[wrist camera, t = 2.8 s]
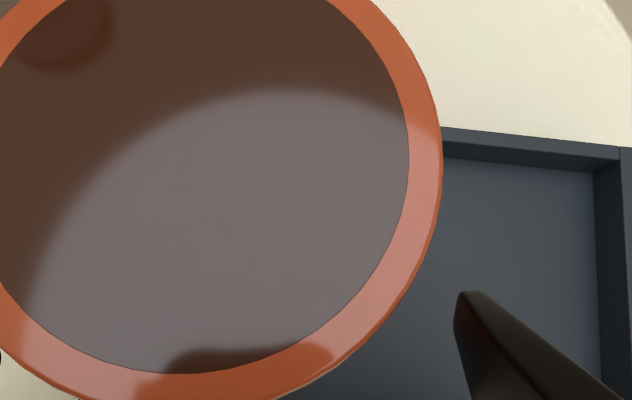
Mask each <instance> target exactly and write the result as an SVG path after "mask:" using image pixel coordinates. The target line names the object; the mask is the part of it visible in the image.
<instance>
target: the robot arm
mask: <svg viewBox="0 0 632 400" xmlns="http://www.w3.org/2000/svg"><path fill="white" fill-rule="evenodd" d="M453 332H454V336H455V340H456V343H457V347H458V351H459V355H460V358H461V362H462V366H463V369H464V373H465V377H466V381H467V384H468V388H469V392H470V395H471V399H472V400H624V399H623V398H621V397H620V396H619V395H617V394H616V393H615V392H613V391H612V390H611V389H609V388H608V387H607V386H605V385H604V384H603V383H602V382H600V381H599V380H598V379H596V378H595V377H594V376H592V375H591V374H590V373H588V372H587V371H586V370H584V369H583V368H582V367H581V366H579V365H578V364H577V363H575V362H574V361H573V360H571V359H570V358H569V357H567V356H566V355H565V354H564V353H562V352H561V351H560V350H558V349H557V348H556V347H554V346H553V345H552V344H550V343H549V342H548V341H546V340H545V339H544V338H543V337H541V336H540V335H539V334H537V333H536V332H535V331H533V330H532V329H531V328H529V327H528V326H527V325H526V324H524V323H523V322H522V321H520V320H519V319H518V318H516V317H515V316H514V315H512V314H511V313H510V312H508V311H507V310H506V309H505V308H503V307H502V306H501V305H499V304H498V303H497V302H495V301H494V300H493V299H491V298H490V297H489V296H487V295H486V294H485V293H483V292H482V291H478V290H475V291H462V292H460V293H459V295H458V298H457V303H456V308H455V313H454V318H453ZM0 363H1V352H0Z"/></svg>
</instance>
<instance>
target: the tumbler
mask: <svg viewBox="0 0 632 400" xmlns="http://www.w3.org/2000/svg"><path fill="white" fill-rule="evenodd" d="M443 170H444V163H443V148H442V135H441V131H440V126H439V121H438V116H437V111H436V107H435V104H434V101H433V98H432V95H431V92H430V89H429V86H428V84H427V81H426V78H425V76H424V74H423V72H422V70H421V68H420V66H419V64H418V62H417V60H416V58H415V56H414V54H413V52H412V50H411V49H410V48H409V46H408V45H407V43H406V42H405V40H404V39H403V37H402V36H401V34H400V33H399V31H398V30H397V28H396V27H395V26H394V25H393V24H392V23H391V22H390V20H389V19H388V18H387V17H386V16H385V15H384V14H383V12H382V11H381V10H380V9H379V8H378V7H377V6H376V5H375V4H374V3H373V2H372V1H370V0H20V1H19V2H18V3H17V4H16V5H14V6H13V7H12V8H11V9H10V10H9V11H8V12H7V13H6V14H5V15H4V16H2V17H1V18H0V348H1V349H2V350H3V351H4V352H6V353H7V354H8V355H9V356H10V357H11V358H13V359H14V360H15V361H16V362H17V363H18V364H19V365H21V366H22V367H23V368H24V369H26V370H27V371H29V372H30V373H32V374H33V375H35V376H37V377H38V378H40V379H41V380H43V381H45V382H46V383H48V384H49V385H51V386H52V387H54V388H56V389H58V390H60V391H63V392H65V393H67V394H69V395H72V396H74V397H76V398H79V399H81V400H275V399H278V398H280V397H282V396H284V395H287V394H289V393H291V392H293V391H295V390H298V389H300V388H302V387H304V386H307V385H308V384H310V383H311V382H313V381H315V380H316V379H318V378H319V377H321V376H323V375H324V374H326V373H327V372H329V371H331V370H332V369H334V368H335V367H337V366H338V365H340V364H341V363H342V362H343V361H345V360H346V359H347V358H348V357H349V356H351V355H352V354H353V353H354V352H355V351H357V350H358V349H359V348H360V347H361V346H363V345H364V344H365V343H366V342H367V341H368V340H369V339H370V338H371V337H372V336H373V334H374V333H375V332H376V331H377V330H378V329H379V328H380V327H381V326H382V325H383V324H384V323H385V321H386V320H387V319H388V318H389V317H390V316H391V314H392V313H393V311H394V310H395V309H396V307H397V306H398V304H399V303H400V301H401V300H402V299H403V297H404V296H405V294H406V293H407V291H408V290H409V288H410V286H411V284H412V282H413V281H414V279H415V277H416V275H417V273H418V271H419V269H420V267H421V265H422V263H423V261H424V259H425V256H426V253H427V251H428V248H429V245H430V242H431V239H432V236H433V234H434V231H435V227H436V223H437V218H438V213H439V208H440V203H441V198H442V185H443Z"/></svg>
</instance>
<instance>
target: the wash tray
mask: <svg viewBox="0 0 632 400" xmlns="http://www.w3.org/2000/svg"><path fill="white" fill-rule="evenodd" d="M440 131H441V135H442V148H443V163H444V170H443V185H442V198H441V203H440V208H439V213H438V218H437V223H436V227H435V231H434V234H433V236H432V239H431V242H430V245H429V248H428V251H427V253H426V256H425V259H424V261H423V263H422V265H421V267H420V269H419V271H418V273H417V275H416V277H415V279H414V281H413V282H412V284H411V286H410V288H409V290H408V291H407V293H406V294H405V296H404V297H403V299H402V300H401V301H400V303H399V304H398V306H397V307H396V309H395V310H394V311H393V313H392V314H391V316H390V317H389V318H388V319H387V320H386V321H385V323H384V324H383V325H382V326H381V327H380V328H379V329H378V330H377V331H376V332H375V333H374V334H373V336H372V337H371V338H370V339H369V340H368V341H367V342H366V343H365V344H364V345H363V346H361V347H360V348H359V349H358V350H357V351H355V352H354V353H353V354H352V355H351V356H349V357H348V358H347V359H346V360H345V361H343V362H342V363H341V364H340V365H338V366H337V367H335V368H334V369H332V370H331V371H329V372H327V373H326V374H324V375H323V376H321V377H319V378H318V379H316V380H315V381H313V382H311V383H310V384H308V385H307V386H304V387H302V388H300V389H298V390H295V391H293V392H291V393H289V394H287V395H284V396H282V397H280V398H278V399H275V400H472V399H471V395H470V392H469V388H468V384H467V381H466V377H465V373H464V369H463V366H462V362H461V358H460V355H459V351H458V347H457V343H456V340H455V336H454V332H453V318H454V313H455V308H456V303H457V298H458V295H459V293H460V292H462V291H475V290H478V291H482V292H483V293H485V294H486V295H487V296H489V297H490V298H491V299H493V300H494V301H495V302H497V303H498V304H499V305H501V306H502V307H503V308H505V309H506V310H507V311H508V312H510V313H511V314H512V315H514V316H515V317H516V318H518V319H519V320H520V321H522V322H523V323H524V324H526V325H527V326H528V327H529V328H531V329H532V330H533V331H535V332H536V333H537V334H539V335H540V336H541V337H543V338H544V339H545V340H546V341H548V342H549V343H550V344H552V345H553V346H554V347H556V348H557V349H558V350H560V351H561V352H562V353H564V354H565V355H566V356H567V357H569V358H570V359H571V360H573V361H574V362H575V363H577V364H578V365H579V366H581V367H582V368H583V369H584V370H586V371H587V372H588V373H590V374H591V375H592V376H594V377H595V378H596V379H598V380H599V381H600V382H602V383H603V384H604V385H605V386H607V387H608V388H609V389H611V390H612V391H613V392H615V393H616V394H617V395H619V396H620V397H621V398H623V399H624V400H632V148H631V147H622V146H620V147H618V146H613V145H604V144H595V143H585V142H576V141H567V140H558V139H549V138H540V137H531V136H522V135H513V134H504V133H495V132H486V131H477V130H468V129H459V128H450V127H441V126H440ZM78 400H81V399H78Z"/></svg>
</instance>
